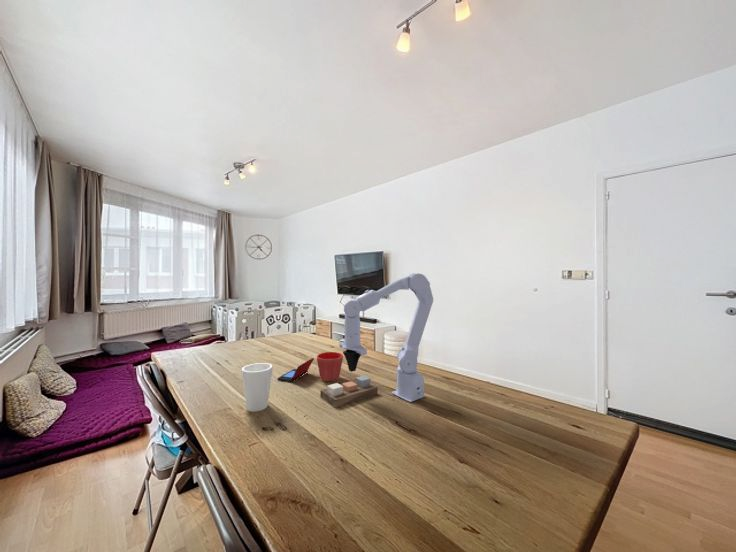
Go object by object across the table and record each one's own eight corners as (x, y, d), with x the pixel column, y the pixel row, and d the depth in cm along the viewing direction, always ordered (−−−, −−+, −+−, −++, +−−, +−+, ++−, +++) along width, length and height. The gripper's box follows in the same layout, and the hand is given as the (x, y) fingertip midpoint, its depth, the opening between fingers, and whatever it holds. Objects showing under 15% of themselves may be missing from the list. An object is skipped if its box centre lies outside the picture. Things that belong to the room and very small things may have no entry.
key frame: (377, 393, 104) (377, 386, 104) (335, 407, 93) (335, 400, 93) (361, 385, 112) (361, 378, 112) (320, 397, 101) (320, 390, 101)
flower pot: (341, 383, 114) (341, 359, 114) (314, 383, 114) (314, 358, 114) (344, 374, 124) (344, 351, 124) (319, 373, 125) (319, 351, 125)
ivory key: (343, 395, 98) (343, 386, 98) (333, 398, 96) (333, 389, 96) (337, 391, 101) (337, 382, 101) (327, 394, 99) (327, 385, 99)
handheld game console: (293, 371, 128) (293, 354, 128) (314, 374, 125) (314, 357, 125) (276, 381, 117) (276, 363, 117) (298, 384, 113) (298, 365, 113)
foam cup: (235, 409, 91) (235, 369, 91) (258, 398, 100) (258, 361, 99) (255, 416, 87) (255, 374, 87) (278, 404, 95) (278, 365, 95)
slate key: (370, 386, 106) (370, 378, 106) (361, 389, 103) (361, 380, 103) (363, 383, 109) (363, 375, 109) (355, 385, 106) (355, 377, 106)
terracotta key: (357, 392, 102) (357, 384, 102) (347, 395, 100) (347, 387, 99) (350, 389, 105) (350, 381, 105) (341, 391, 103) (341, 383, 103)
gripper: (332, 331, 107) (332, 367, 107) (355, 338, 95) (355, 378, 95) (348, 329, 111) (348, 364, 111) (371, 335, 100) (371, 374, 100)
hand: (352, 370), depth 104 cm, fingers closed
